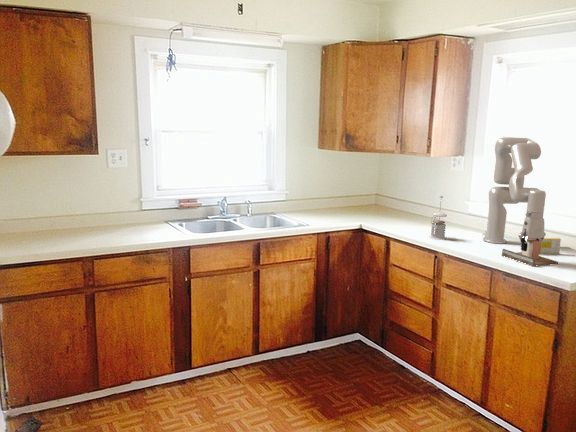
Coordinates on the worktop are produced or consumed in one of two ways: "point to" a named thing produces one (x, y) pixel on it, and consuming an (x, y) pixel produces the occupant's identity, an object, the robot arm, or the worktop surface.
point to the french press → (438, 226)
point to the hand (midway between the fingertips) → (530, 249)
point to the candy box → (550, 246)
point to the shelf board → (537, 261)
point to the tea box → (532, 249)
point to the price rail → (518, 256)
